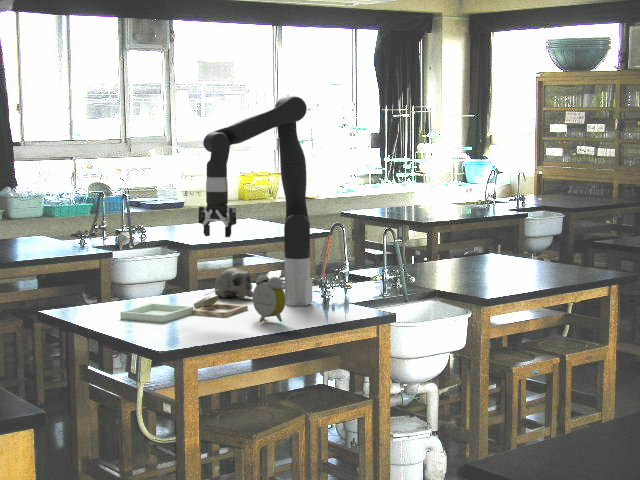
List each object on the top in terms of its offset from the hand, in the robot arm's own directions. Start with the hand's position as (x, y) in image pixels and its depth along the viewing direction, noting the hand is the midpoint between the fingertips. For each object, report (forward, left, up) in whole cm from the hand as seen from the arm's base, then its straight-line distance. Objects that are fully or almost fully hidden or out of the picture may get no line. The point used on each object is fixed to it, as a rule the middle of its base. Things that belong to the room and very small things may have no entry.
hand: (217, 236), depth 363 cm
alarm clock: (-24, +10, -27) cm, 37 cm away
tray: (+14, +18, -26) cm, 35 cm away
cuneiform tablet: (-1, +2, -21) cm, 21 cm away
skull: (+8, -27, -27) cm, 39 cm away
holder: (-2, +2, -26) cm, 26 cm away
